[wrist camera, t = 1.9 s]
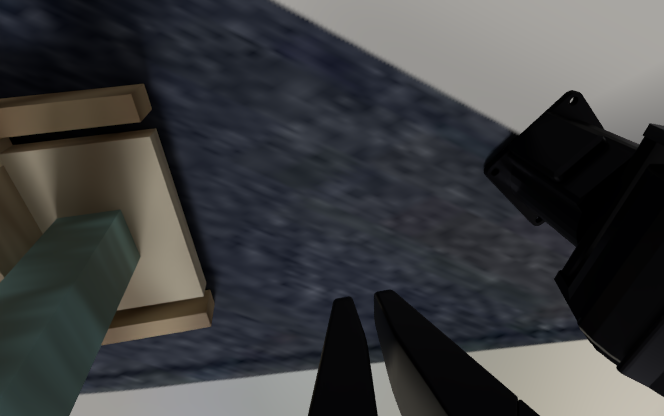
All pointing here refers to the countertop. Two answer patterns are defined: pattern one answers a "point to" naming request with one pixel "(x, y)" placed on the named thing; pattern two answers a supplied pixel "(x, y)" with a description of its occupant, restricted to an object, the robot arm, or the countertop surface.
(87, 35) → the countertop surface
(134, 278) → the wooden open tray
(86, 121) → the guide rails
